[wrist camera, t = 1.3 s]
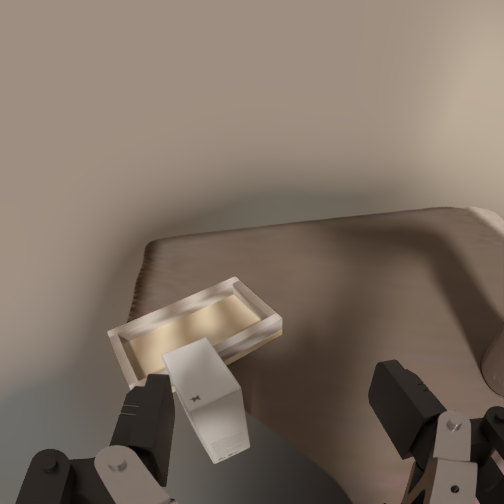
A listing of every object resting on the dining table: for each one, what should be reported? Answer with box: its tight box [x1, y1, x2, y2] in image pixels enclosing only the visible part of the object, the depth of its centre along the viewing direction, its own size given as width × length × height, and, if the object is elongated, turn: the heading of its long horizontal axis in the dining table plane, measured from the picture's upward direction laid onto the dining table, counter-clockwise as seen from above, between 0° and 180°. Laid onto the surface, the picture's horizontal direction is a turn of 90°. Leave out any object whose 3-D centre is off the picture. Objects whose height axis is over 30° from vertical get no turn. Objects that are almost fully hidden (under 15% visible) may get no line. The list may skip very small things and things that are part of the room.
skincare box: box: [162, 337, 250, 464], centre depth 24 cm, size 6×4×12 cm
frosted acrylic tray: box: [108, 277, 282, 393], centre depth 38 cm, size 20×11×3 cm, turn 125°
